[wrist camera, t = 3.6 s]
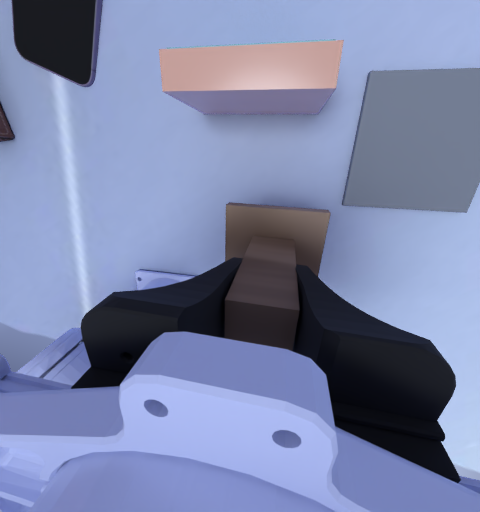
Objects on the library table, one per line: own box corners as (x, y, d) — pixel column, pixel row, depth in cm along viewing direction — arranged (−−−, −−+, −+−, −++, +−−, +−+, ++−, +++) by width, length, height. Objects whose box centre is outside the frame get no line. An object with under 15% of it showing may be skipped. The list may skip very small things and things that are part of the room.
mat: (462, 211, 18) (466, 212, 18) (341, 204, 19) (343, 205, 19) (521, 69, 14) (528, 66, 14) (368, 73, 16) (370, 71, 15)
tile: (317, 114, 17) (335, 88, 11) (204, 114, 19) (162, 91, 12) (322, 82, 17) (344, 35, 10) (203, 85, 18) (158, 45, 12)
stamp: (311, 295, 16) (329, 405, 9) (227, 284, 17) (184, 376, 10) (328, 210, 13) (371, 269, 6) (229, 202, 14) (173, 246, 7)
